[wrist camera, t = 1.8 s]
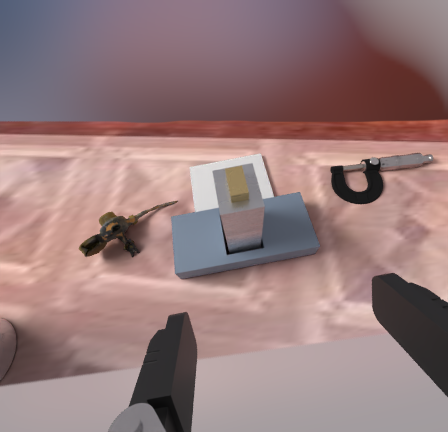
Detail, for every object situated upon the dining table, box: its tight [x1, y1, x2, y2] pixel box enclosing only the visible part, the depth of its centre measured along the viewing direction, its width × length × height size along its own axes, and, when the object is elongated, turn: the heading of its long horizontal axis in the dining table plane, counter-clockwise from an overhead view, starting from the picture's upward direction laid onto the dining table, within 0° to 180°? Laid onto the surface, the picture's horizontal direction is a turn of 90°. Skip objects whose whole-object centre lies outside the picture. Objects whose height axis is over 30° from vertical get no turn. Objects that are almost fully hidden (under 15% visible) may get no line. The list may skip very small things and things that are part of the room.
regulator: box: [79, 201, 177, 257], centre depth 35 cm, size 8×4×15 cm
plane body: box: [171, 192, 320, 279], centre depth 32 cm, size 18×8×3 cm, turn 99°
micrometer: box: [331, 153, 433, 204], centre depth 35 cm, size 15×7×2 cm, turn 94°
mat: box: [190, 153, 274, 212], centre depth 38 cm, size 12×9×1 cm
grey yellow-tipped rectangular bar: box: [212, 163, 265, 254], centre depth 28 cm, size 4×5×14 cm
